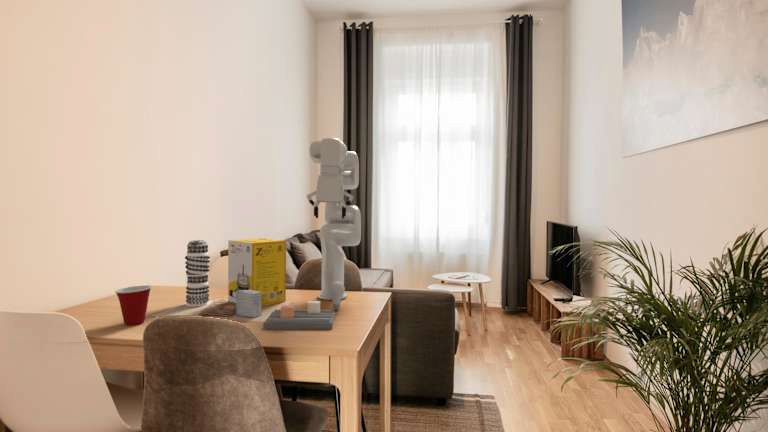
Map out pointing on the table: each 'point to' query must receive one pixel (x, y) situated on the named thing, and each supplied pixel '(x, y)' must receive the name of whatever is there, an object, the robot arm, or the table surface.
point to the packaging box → (257, 268)
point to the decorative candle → (197, 273)
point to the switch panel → (301, 320)
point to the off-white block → (314, 307)
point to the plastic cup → (133, 303)
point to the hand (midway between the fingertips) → (329, 218)
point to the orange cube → (287, 311)
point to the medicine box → (248, 303)
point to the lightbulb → (336, 293)
